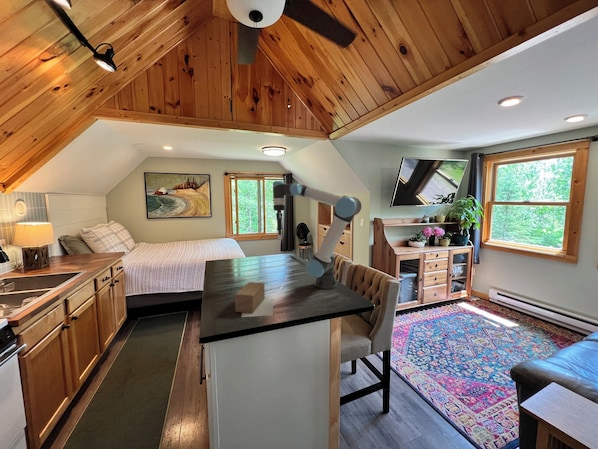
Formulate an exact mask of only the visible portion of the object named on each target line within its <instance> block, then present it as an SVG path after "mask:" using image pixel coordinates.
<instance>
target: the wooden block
mask: <svg viewBox="0 0 598 449" xmlns="http://www.w3.org/2000/svg"><path fill="white" fill-rule="evenodd" d="M234 294H235V295H234V307H235V308H234V310H235V312H236V313H242V312H243V313H253V312H254V311H255V310H256V308H257V307H258V306H259V305H260V304H261V302H262V301H263V300H264V299H266V298H265V283H264V282H253V281H250V282H248V283H245V285H243V287H242V288H240V289H239V290H238V291H237V292H236V293H234Z"/></svg>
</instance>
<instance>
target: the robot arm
mask: <svg viewBox="0 0 598 449" xmlns="http://www.w3.org/2000/svg"><path fill="white" fill-rule="evenodd" d="M272 195H273V199H272V203H273V208H272V209H273V211H276V213H275V217H276V224H277V226H276V228H277V229H276V231H277V240H282V239H283V233H282V232H283V231H282V230H283V213H282V211H285V210H286V207H285V203H286V202H285V200H286V199H285V196H298V197H299V196H301V197H303V198H307V199H309V200H313V201H316V202H320V203H322V204H325V205H328V206H331V207H334V212H333V214H332V216H333V219H332V222H331V224H330V226H329V228H328V229H327V232H326V233H325V235H324V238H323V240H322V242H321V244H320V245H319V248H318V250H317V251H314V253H313V255H312V257H311V259H309V260H308V262H307V263H306V265H305V267H306V268H305V269H306V271H307V274H308V275H310V276H311V277H312V278H315V279H314V287H316V288H318V289H322V290H328V289H329V290H330V289H331V288H332V289H334V288H337V279H336V276H335V253H333V252H334V251H335V249H336V247H337V246H338V243H339V242H340V239H341V237H342V235H343V233H344V231H345V229H346V227H347V225H349V224H351V223H352V221H353V220H354V218H355V216H357V215H359V213H360V212H361V211H362V202H361V200H360V199H359V198H358V197H354V196H348V195H343V196H342V195H338V194H336V193H332V192H331V193H330V192H327V191H324V190H320V189H318V188H314V187H310V186H307V185H305V184H300V183H294V182H293V183H285V182H284V181H282V180H277V181H276V180H275V181H273V182H272Z"/></svg>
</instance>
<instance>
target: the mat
mask: <svg viewBox="0 0 598 449" xmlns="http://www.w3.org/2000/svg"><path fill="white" fill-rule="evenodd" d="M268 316H269V317H270V316H271V317H272V316H273V317H274V298H264V300H263V301H262V302H261V304H260V305H259V306H258V307H257V308H256V310H255V311H254V312H253V313H243V312H241V318H249V317H250V318H251V317H253V318H254V317H268Z"/></svg>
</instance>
